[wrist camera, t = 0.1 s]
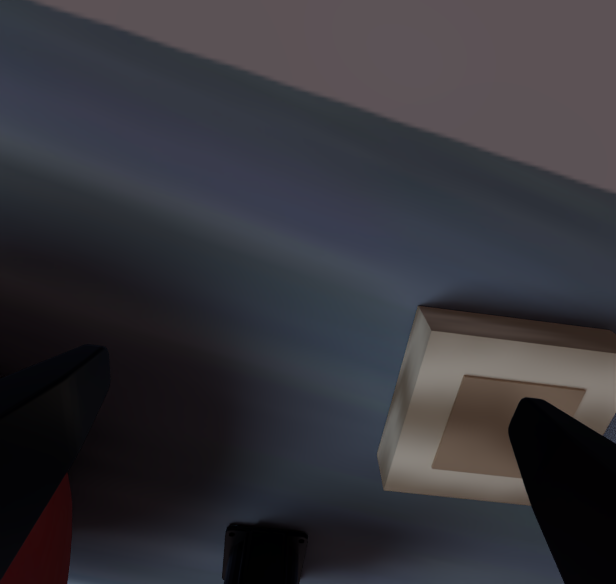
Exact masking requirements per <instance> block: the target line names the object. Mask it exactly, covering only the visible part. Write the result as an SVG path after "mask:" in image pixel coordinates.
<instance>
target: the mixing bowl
mask: <svg viewBox="0 0 616 584" xmlns="http://www.w3.org/2000/svg"><path fill="white" fill-rule="evenodd" d="M71 540H72V497H71V489H70V483H69V477H68V473H66V475H65V476H64V478H63V480H62V481H61V483H60V485H59V486H58V488H57V489H56V491H55V493H54V494H53V496H52V498H51V499H50V501H49V503H48V504H47V506H46V507H45V509H44V511H43V512H42V514H41V516H40V517H39V519H38V520H37V522H36V524H35V525H34V527H33V529H32V530H31V532H30V534H29V535H28V537H27V538H26V540H25V542H24V543H23V545H22V547H21V548H20V550H19V551H18V553H17V555H16V556H15V558H14V560H13V561H12V563H11V565H10V566H9V568H8V569H7V571H6V573H5V574H4V576H3V578H2V579H1V581H0V584H67V581H68V573H69V565H70V553H71Z"/></svg>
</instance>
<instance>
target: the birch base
mask: <svg viewBox="0 0 616 584" xmlns="http://www.w3.org/2000/svg"><path fill="white" fill-rule="evenodd" d="M524 397H530V398H539V399H543V400H545V401H547V402H548V403H550V404H552V405H553V406H555V407H557V408H558V409H560V410H562V411H563V412H565V413H566V414H568V415H570V416H571V417H573V418H575V419H576V420H578V421H579V422H581V423H583V424H584V425H586V426H588V427H589V428H591V429H592V430H594V431H596V432H597V433H599V434H601V435H602V436H603V434H604V432H605V431H606V429H607V427H608V425H609V423H610V422H611V420H612V418H613V416H614V415H615V413H616V334H614V333H613V332H612V331H610V330H605V329H597V328H589V327H581V326H574V325H566V324H558V323H550V322H542V321H534V320H526V319H519V318H511V317H503V316H495V315H487V314H479V313H471V312H464V311H456V310H448V309H440V308H432V307H424V306H418V308H417V311H416V315H415V319H414V322H413V326H412V329H411V333H410V337H409V340H408V344H407V347H406V351H405V355H404V358H403V362H402V366H401V369H400V373H399V376H398V380H397V384H396V387H395V391H394V395H393V398H392V402H391V405H390V409H389V413H388V416H387V420H386V424H385V427H384V431H383V434H382V438H381V442H380V445H379V449H378V452H377V458H378V463H379V468H380V473H381V478H382V484H383V489H384V490H385V491H395V492H405V493H414V494H424V495H433V496H443V497H453V498H462V499H472V500H482V501H491V502H501V503H510V504H520V505H530V506H531V504H530V501H529V498H528V495H527V493H526V490H525V486H524V483H523V480H522V477H521V474H520V471H519V468H518V464H517V461H516V458H515V455H514V452H513V449H512V446H511V442H510V439H509V435H508V427H509V424H510V421H511V419H512V417H513V414H514V412H515V410H516V408H517V405H518V403H519V401H520V400H521V399H522V398H524Z"/></svg>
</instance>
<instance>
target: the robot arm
mask: <svg viewBox="0 0 616 584" xmlns="http://www.w3.org/2000/svg"><path fill="white" fill-rule="evenodd" d="M109 386H110V365H109V353H108V350H107V348H106V347H104V346H98V345H90V344H86V345H83V346H80V347H78V348H75V349H73V350H70V351H68V352H65V353H63V354H60V355H58V356H55V357H53V358H50V359H48V360H45V361H43V362H40V363H38V364H36V365H33V366H31V367H28V368H26V369H23V370H21V371H18V372H16V373H13V374H11V375H8V376H6V377H3V378H1V379H0V581H1V579H2V578H3V576H4V574H5V573H6V571H7V569H8V568H9V566H10V565H11V563H12V561H13V560H14V558H15V556H16V555H17V553H18V551H19V550H20V548H21V547H22V545H23V543H24V542H25V540H26V538H27V537H28V535H29V534H30V532H31V530H32V529H33V527H34V525H35V524H36V522H37V520H38V519H39V517H40V516H41V514H42V512H43V511H44V509H45V507H46V506H47V504H48V503H49V501H50V499H51V498H52V496H53V494H54V493H55V491H56V489H57V488H58V486H59V485H60V483H61V481H62V480H63V478H64V476H65V475H66V473H67V471H68V470H69V468H70V467H71V465H72V463H73V461H74V460H75V458H76V456H77V455H78V453H79V451H80V449H81V447H82V445H83V443H84V441H85V438H86V436H87V434H88V432H89V430H90V428H91V426H92V424H93V421H94V419H95V417H96V415H97V413H98V411H99V409H100V407H101V404H102V402H103V400H104V398H105V396H106V394H107V392H108V389H109ZM508 435H509V439H510V442H511V446H512V449H513V452H514V455H515V458H516V461H517V464H518V468H519V471H520V474H521V477H522V480H523V483H524V486H525V490H526V493H527V495H528V498H529V501H530V504H531V506H532V509H533V511H534V514H535V516H536V519H537V521H538V523H539V525H540V528H541V530H542V532H543V535H544V537H545V539H546V542H547V544H548V546H549V549H550V551H551V553H552V556H553V558H554V560H555V563H556V565H557V567H558V570H559V572H560V574H561V577H562V579H563V581H564V584H616V444H615V443H614V442H612V441H610V440H609V439H607V438H606V437H604V436H602V435H601V434H599V433H597V432H596V431H594V430H592V429H591V428H589V427H588V426H586V425H584V424H583V423H581V422H579V421H578V420H576V419H575V418H573V417H571V416H570V415H568V414H566V413H565V412H563V411H562V410H560V409H558V408H557V407H555V406H553V405H552V404H550V403H548V402H547V401H545V400H543V399H539V398H530V397H524V398H522V399H521V400H520V401H519V403H518V405H517V408H516V410H515V412H514V414H513V417H512V419H511V421H510V424H509V427H508ZM307 543H308V535H307V534H306V533H303V532H295V531H285V530H274V529H264V528H254V527H244V526H228V527H227V529H226V534H225V547H224V559H223V572H222V579H223V580H224V584H299V581H300V576H301V572H302V567H303V562H304V557H305V552H306V547H307Z"/></svg>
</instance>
